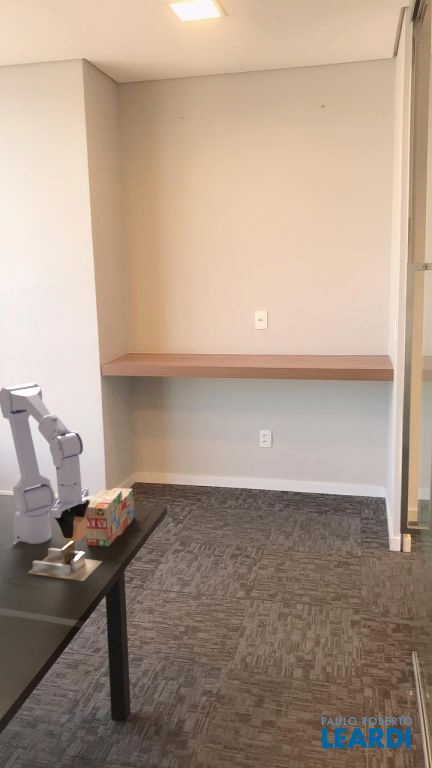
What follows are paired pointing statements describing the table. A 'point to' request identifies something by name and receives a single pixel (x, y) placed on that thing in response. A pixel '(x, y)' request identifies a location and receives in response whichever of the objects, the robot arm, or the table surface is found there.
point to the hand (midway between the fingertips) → (73, 533)
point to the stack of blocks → (109, 515)
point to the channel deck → (62, 566)
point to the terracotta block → (78, 529)
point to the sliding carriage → (72, 557)
